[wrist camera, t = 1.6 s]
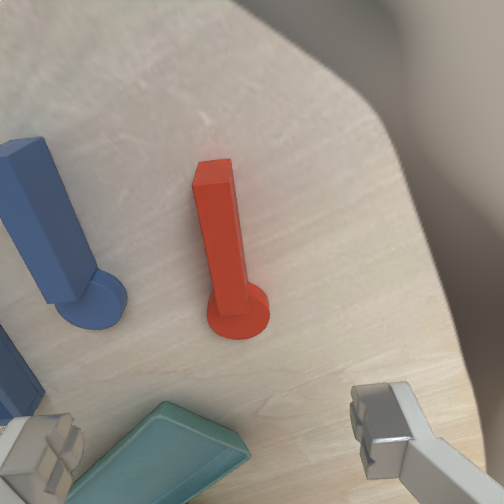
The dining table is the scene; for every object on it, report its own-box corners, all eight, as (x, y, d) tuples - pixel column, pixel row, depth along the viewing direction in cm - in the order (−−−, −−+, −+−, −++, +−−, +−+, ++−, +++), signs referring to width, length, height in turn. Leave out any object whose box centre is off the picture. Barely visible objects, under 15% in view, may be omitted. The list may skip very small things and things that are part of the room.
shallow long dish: (161, 389, 26) (154, 420, 24) (254, 430, 30) (255, 461, 28) (26, 515, 37) (13, 544, 35) (106, 535, 40) (99, 563, 38)
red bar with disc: (176, 163, 17) (165, 187, 15) (253, 155, 17) (255, 177, 15) (213, 329, 23) (210, 365, 21) (270, 323, 23) (274, 359, 21)
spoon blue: (-14, 142, 16) (-59, 163, 14) (66, 133, 16) (34, 152, 14) (76, 319, 22) (55, 356, 20) (135, 313, 22) (121, 350, 20)
